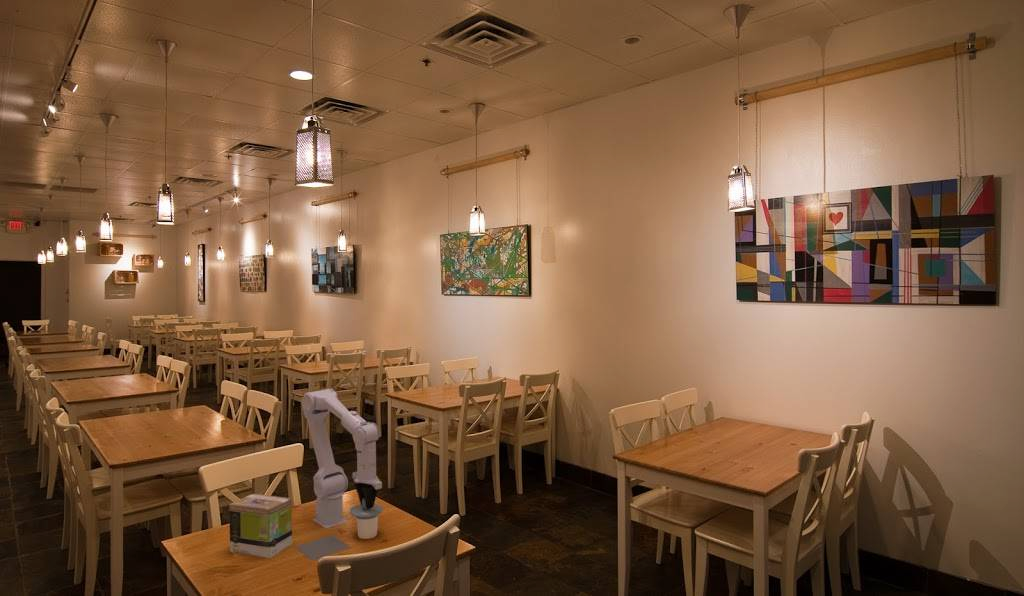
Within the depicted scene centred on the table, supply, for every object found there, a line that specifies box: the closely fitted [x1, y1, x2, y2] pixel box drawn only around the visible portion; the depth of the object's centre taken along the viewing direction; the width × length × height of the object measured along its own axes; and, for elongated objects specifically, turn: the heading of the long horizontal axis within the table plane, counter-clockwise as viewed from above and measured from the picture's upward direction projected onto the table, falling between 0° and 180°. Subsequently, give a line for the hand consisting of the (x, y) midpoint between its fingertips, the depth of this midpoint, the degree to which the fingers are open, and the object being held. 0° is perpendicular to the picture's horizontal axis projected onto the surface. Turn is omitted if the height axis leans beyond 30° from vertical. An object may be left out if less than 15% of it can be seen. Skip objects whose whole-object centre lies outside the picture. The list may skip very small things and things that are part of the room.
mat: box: [294, 534, 351, 561], centre depth 172 cm, size 12×12×1 cm
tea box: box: [228, 493, 293, 559], centre depth 172 cm, size 15×10×15 cm, turn 71°
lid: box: [349, 498, 384, 518], centre depth 180 cm, size 10×10×4 cm
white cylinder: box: [355, 515, 379, 540], centre depth 180 cm, size 7×7×7 cm
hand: (367, 506), depth 180 cm, fingers closed on lid, 3 cm apart
